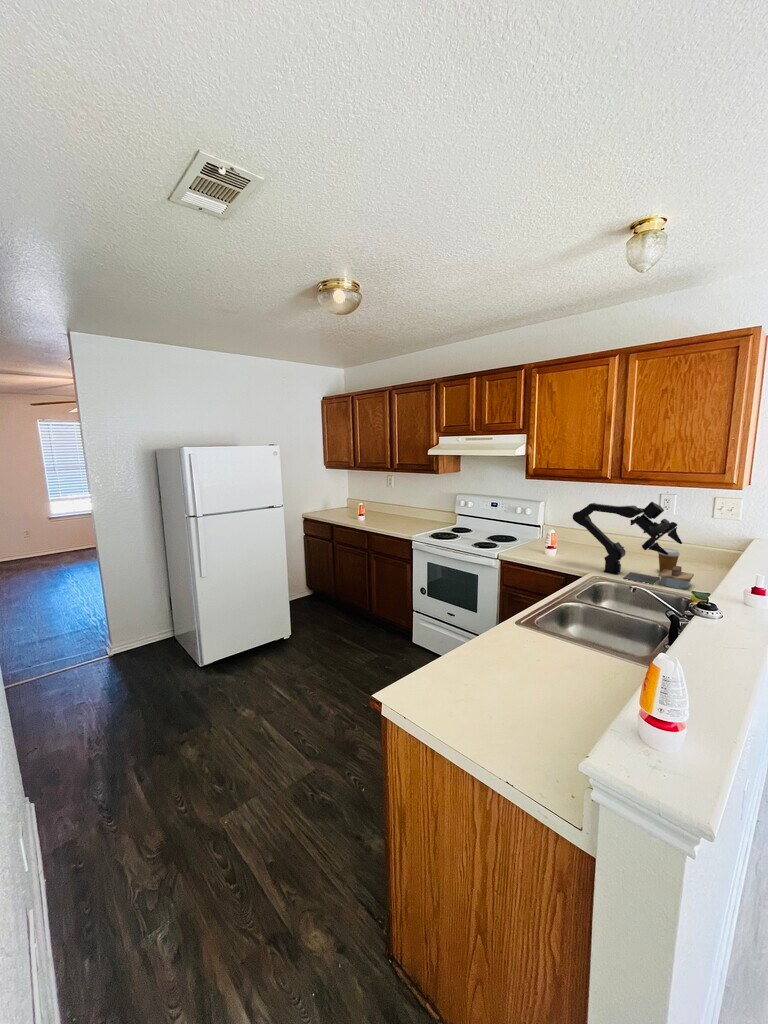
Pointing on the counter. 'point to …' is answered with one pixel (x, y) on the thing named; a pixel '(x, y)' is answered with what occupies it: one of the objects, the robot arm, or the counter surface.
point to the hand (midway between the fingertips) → (674, 549)
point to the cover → (676, 574)
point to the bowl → (675, 583)
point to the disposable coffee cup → (668, 559)
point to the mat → (641, 578)
